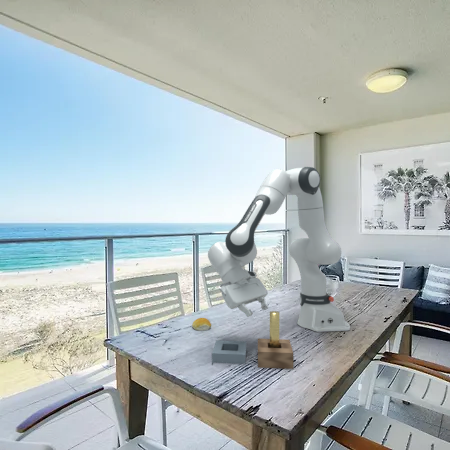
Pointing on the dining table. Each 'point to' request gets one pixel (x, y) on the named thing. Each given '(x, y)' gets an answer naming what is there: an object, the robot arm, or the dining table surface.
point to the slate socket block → (229, 352)
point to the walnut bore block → (275, 354)
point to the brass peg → (274, 329)
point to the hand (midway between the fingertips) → (258, 312)
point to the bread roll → (201, 324)
